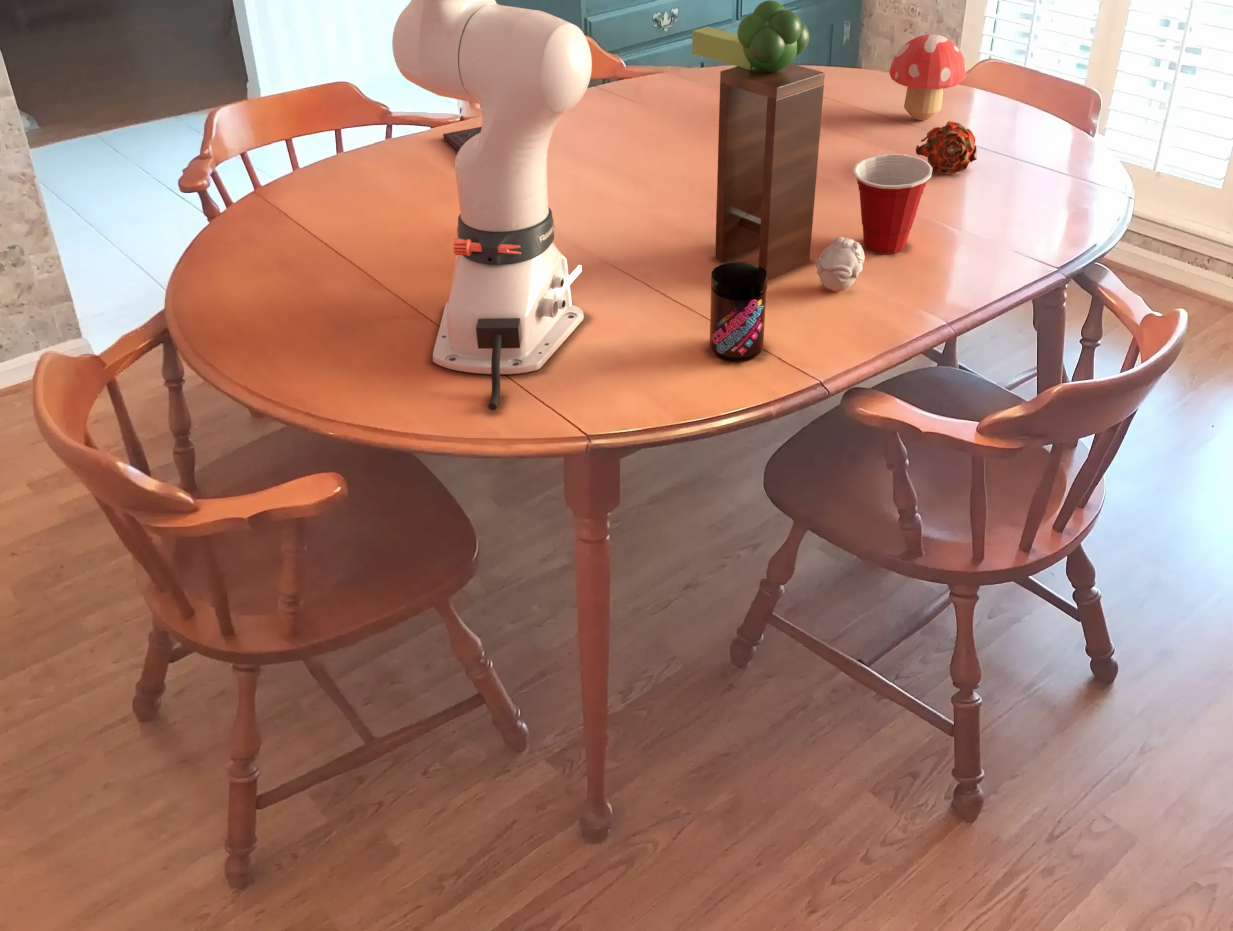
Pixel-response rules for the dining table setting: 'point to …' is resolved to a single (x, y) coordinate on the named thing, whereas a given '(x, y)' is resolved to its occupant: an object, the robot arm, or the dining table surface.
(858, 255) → the white rounded carved piece
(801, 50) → the broccoli
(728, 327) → the supplement container
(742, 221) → the wooden stand
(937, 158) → the dragon fruit
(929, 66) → the decorative mushroom
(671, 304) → the dining table surface
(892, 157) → the plastic cup
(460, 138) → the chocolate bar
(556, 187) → the dining table surface
